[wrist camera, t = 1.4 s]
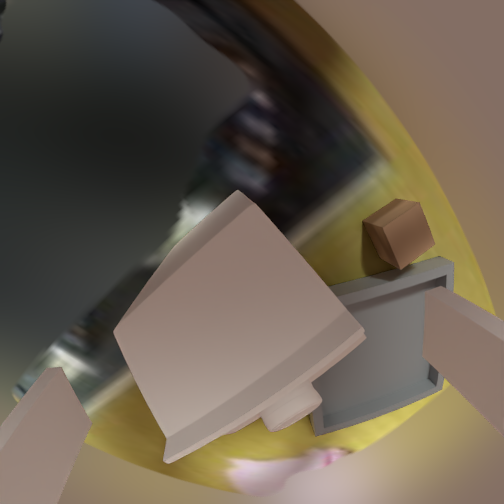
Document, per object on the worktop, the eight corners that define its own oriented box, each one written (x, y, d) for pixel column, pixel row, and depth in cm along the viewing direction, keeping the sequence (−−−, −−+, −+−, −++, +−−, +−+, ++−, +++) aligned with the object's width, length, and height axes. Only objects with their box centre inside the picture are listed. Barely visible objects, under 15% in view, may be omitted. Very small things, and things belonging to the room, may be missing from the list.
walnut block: (361, 220, 26) (382, 227, 22) (395, 198, 26) (419, 202, 22) (379, 257, 27) (400, 269, 23) (411, 235, 27) (435, 244, 23)
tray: (290, 295, 27) (296, 306, 25) (439, 256, 28) (453, 262, 25) (310, 421, 31) (315, 436, 28) (431, 378, 31) (441, 389, 29)
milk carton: (172, 247, 25) (71, 393, 7) (237, 188, 25) (271, 215, 6) (230, 307, 27) (241, 503, 8) (293, 253, 26) (415, 397, 8)
